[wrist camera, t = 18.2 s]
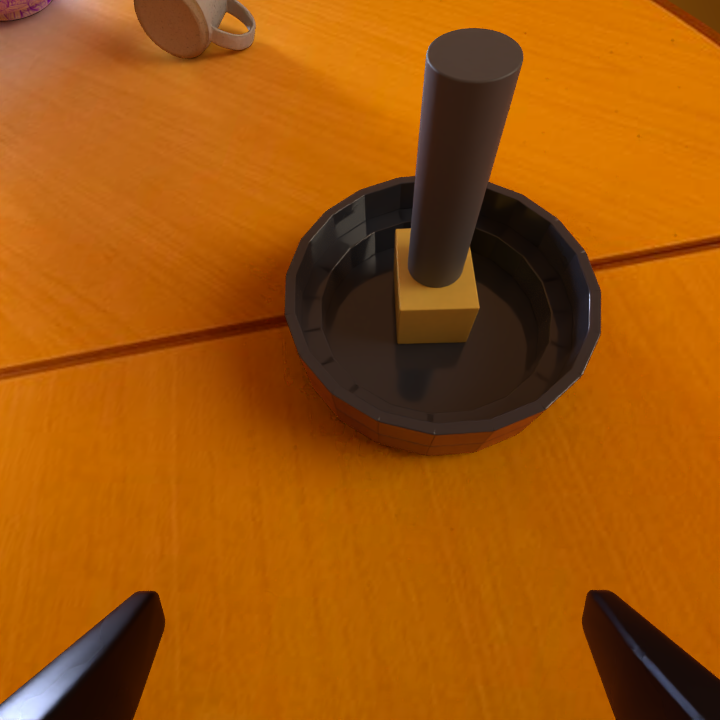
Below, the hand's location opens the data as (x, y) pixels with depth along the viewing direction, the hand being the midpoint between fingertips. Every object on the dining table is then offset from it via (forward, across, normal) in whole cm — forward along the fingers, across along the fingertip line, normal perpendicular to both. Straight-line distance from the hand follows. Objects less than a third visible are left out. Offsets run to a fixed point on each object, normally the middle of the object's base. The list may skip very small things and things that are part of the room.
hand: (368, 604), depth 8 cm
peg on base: (+20, -4, -2) cm, 21 cm away
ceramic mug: (+46, +17, -27) cm, 56 cm away
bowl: (+20, -4, -1) cm, 20 cm away
